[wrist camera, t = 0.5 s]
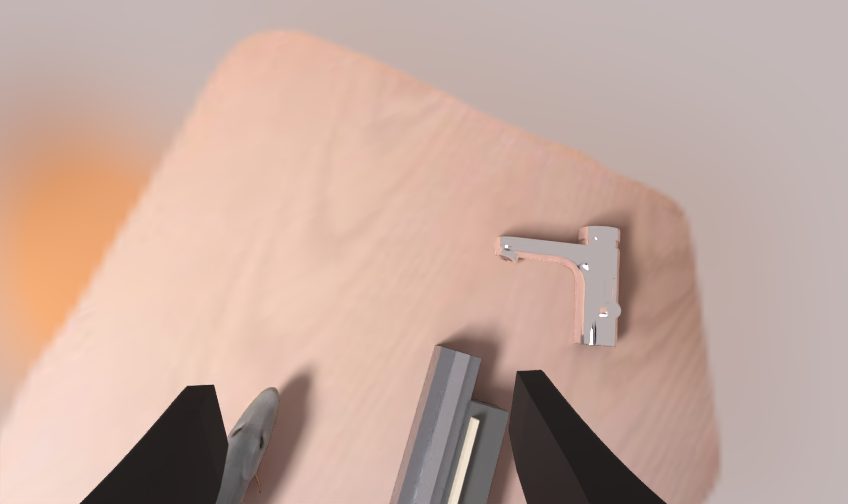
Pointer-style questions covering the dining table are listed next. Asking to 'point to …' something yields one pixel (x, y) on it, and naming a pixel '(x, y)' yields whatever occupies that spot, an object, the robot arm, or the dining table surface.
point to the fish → (248, 446)
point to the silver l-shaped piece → (581, 277)
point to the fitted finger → (476, 454)
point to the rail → (436, 428)
